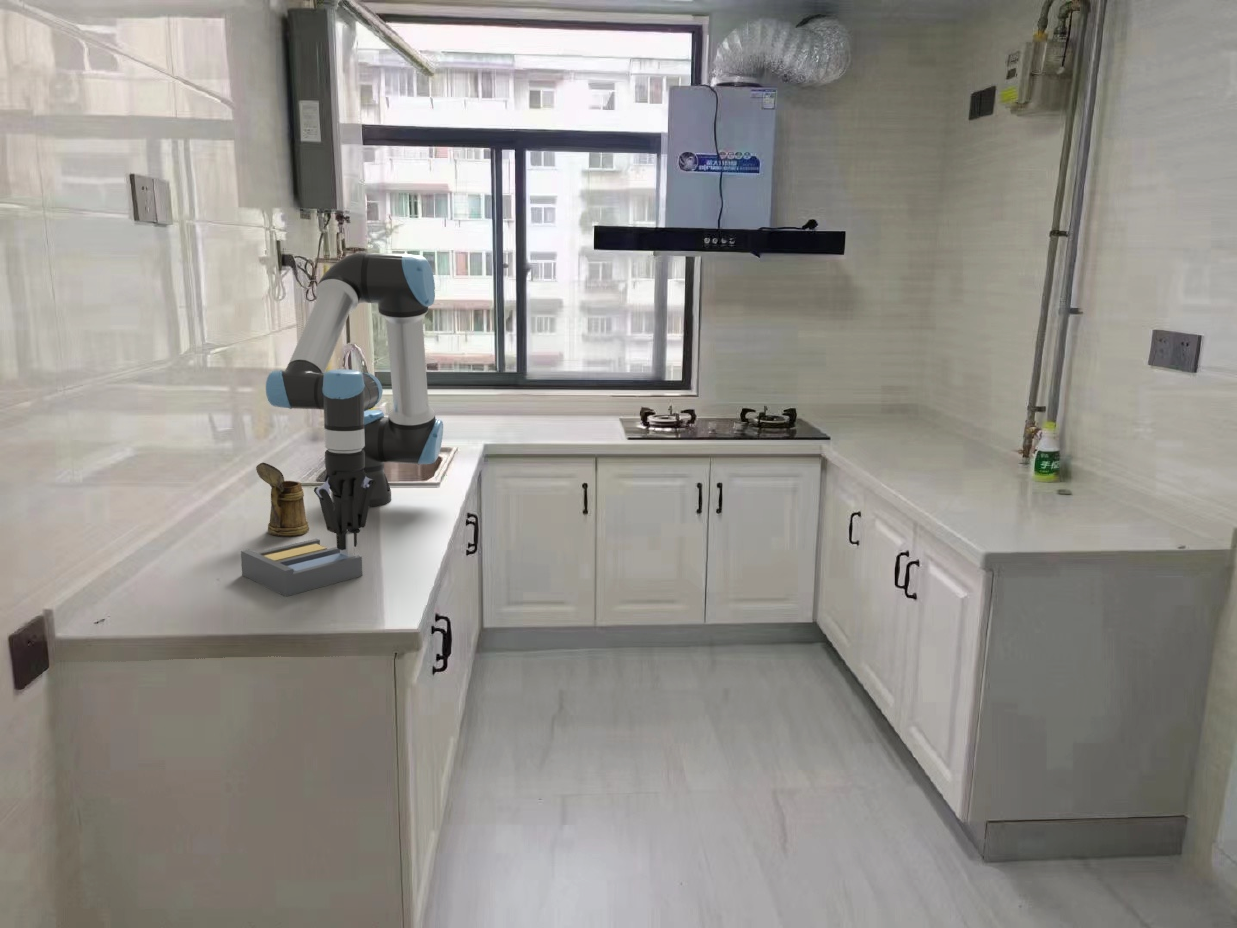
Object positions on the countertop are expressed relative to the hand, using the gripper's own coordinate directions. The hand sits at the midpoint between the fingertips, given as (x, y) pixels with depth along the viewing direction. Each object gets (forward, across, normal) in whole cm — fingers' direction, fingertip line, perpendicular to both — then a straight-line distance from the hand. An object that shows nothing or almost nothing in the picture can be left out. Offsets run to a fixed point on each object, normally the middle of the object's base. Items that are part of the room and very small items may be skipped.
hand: (347, 563), depth 182 cm
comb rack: (+2, +8, -4) cm, 9 cm away
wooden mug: (+2, -4, -31) cm, 31 cm away
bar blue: (+2, +7, 0) cm, 7 cm away
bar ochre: (+2, +7, -8) cm, 11 cm away
